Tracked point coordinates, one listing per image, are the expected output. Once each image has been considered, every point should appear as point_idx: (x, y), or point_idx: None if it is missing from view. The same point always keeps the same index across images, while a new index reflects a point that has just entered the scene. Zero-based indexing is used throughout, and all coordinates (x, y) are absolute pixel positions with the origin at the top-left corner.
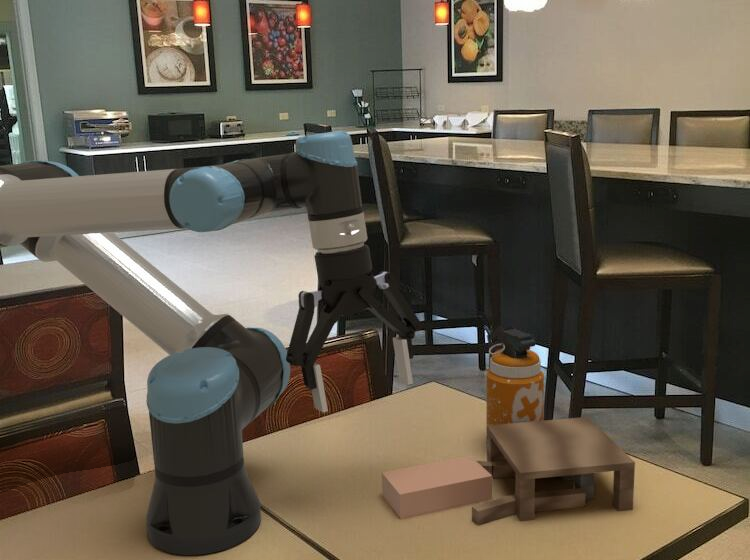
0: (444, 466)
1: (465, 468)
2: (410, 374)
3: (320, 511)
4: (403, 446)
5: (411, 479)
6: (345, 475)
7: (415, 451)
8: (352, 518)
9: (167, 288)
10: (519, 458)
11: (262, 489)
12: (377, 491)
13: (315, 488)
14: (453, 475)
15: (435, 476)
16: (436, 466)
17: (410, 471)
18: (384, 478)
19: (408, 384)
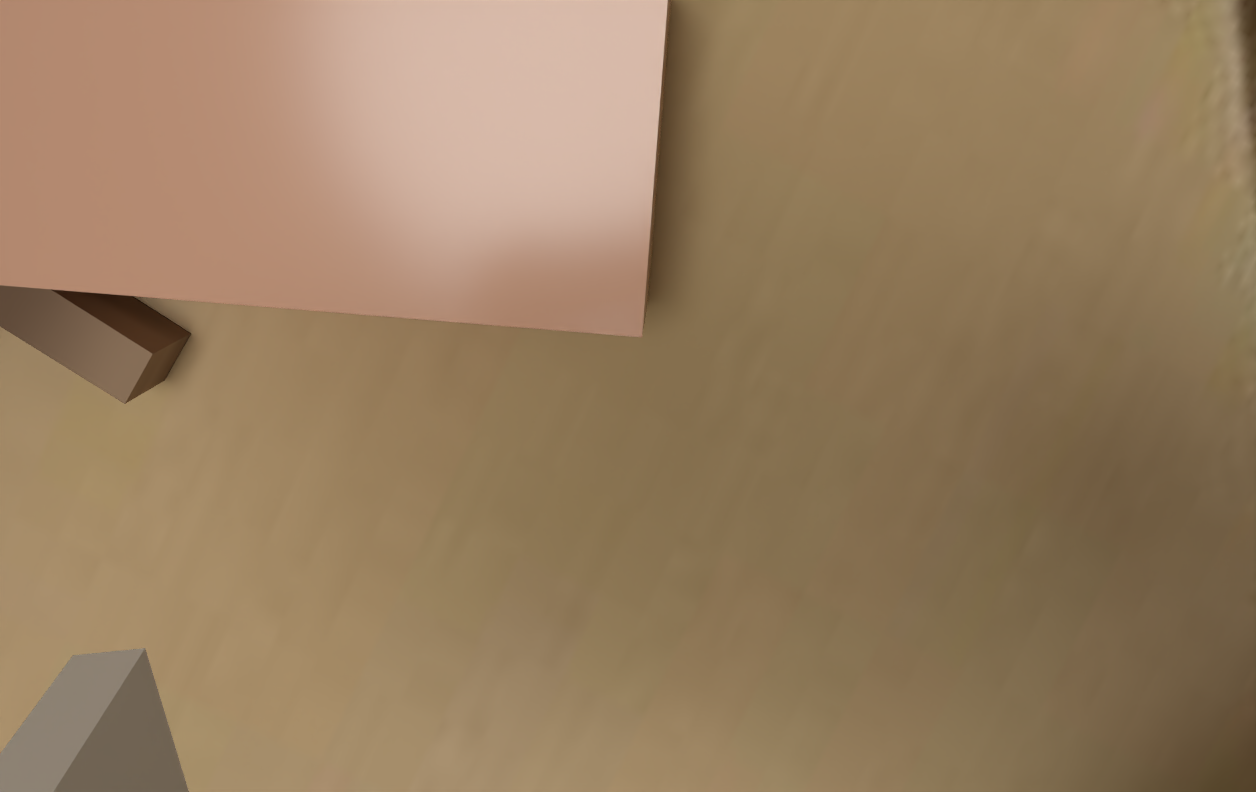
0: (218, 221)
1: (95, 126)
2: (28, 739)
3: (1046, 301)
4: (296, 764)
5: (503, 150)
6: (735, 611)
7: (257, 684)
8: (920, 139)
9: None
10: None
11: (1213, 673)
12: (651, 362)
13: (951, 553)
14: (212, 70)
15: (334, 114)
16: (269, 245)
17: (461, 261)
18: (646, 285)
19: (143, 653)
